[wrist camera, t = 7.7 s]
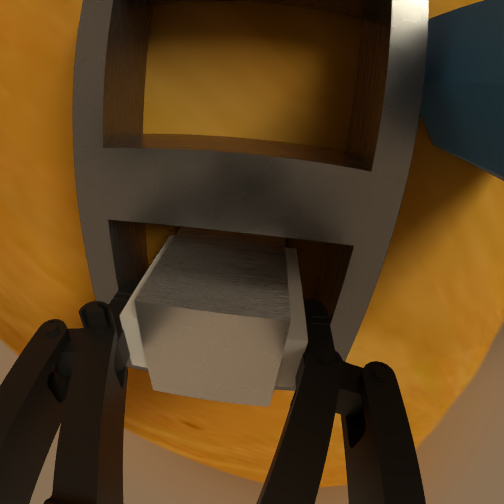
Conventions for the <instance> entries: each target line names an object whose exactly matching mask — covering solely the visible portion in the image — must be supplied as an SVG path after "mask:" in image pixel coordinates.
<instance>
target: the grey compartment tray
mask: <svg viewBox="0 0 504 504" xmlns="http://www.w3.org/2000/svg"><path fill="white" fill-rule="evenodd" d="M193 1H250V2H265V3H276V4H286V5H294V6H301V7H308V8H314V9H320V10H325V11H330V12H335V13H340V14H344V15H348V16H353V17H357V18H361V19H362V30H361V42H360V53H359V63H358V72H357V80H356V89H355V96H354V104H353V111H352V118H351V125H350V131H349V138H348V144H347V150H346V152H342V151H337V150H331V149H325V148H319V147H312V146H305V145H298V144H291V143H283V142H275V141H266V140H256V139H246V138H234V137H220V136H204V135H180V134H143V107H144V87H145V72H146V60H147V50H148V40H149V31H150V23H151V16H152V9H153V5H157V4H166V3H178V2H193ZM427 38H428V0H83V4H82V9H81V15H80V21H79V28H78V36H77V44H76V54H75V66H74V82H73V149H74V166H75V178H76V189H77V198H78V206H79V214H80V221H81V228H82V234H83V240H84V246H85V252H86V257H87V262H88V267H89V272H90V276H91V281H92V285H93V290H94V294H95V298H96V301H102V302H105V303H107V304H109V303H110V302H111V300H112V299H113V297H114V296H115V294H116V293H117V291H118V290H119V288H120V287H121V285H122V284H124V283H125V282H127V281H128V280H129V279H133V280H140V281H141V280H142V278H143V276H144V275H145V273H146V272H147V270H148V258H147V247H146V234H145V223H152V224H163V225H173V226H183V227H193V228H203V229H213V230H222V231H232V232H241V233H250V234H259V235H268V236H277V237H286V238H295V239H303V240H312V241H320V242H328V246H327V250H326V254H325V259H324V263H323V267H322V271H321V275H320V279H319V283H318V287H317V291H316V295H315V299H314V300H315V301H321V302H322V303H323V305H324V306H325V307H326V308H327V313H328V319H329V322H330V327H331V332H332V337H333V342H334V347H335V351H337V352H338V353H339V354H340V356H341V357H342V360H343V361H345V360H346V358H347V356H348V353H349V351H350V349H351V347H352V344H353V342H354V340H355V337H356V335H357V333H358V330H359V328H360V325H361V323H362V320H363V318H364V315H365V313H366V310H367V308H368V305H369V302H370V300H371V297H372V294H373V291H374V289H375V286H376V283H377V280H378V277H379V275H380V272H381V269H382V266H383V263H384V260H385V257H386V253H387V250H388V247H389V244H390V241H391V237H392V234H393V231H394V227H395V224H396V220H397V217H398V213H399V209H400V205H401V202H402V198H403V194H404V190H405V186H406V181H407V177H408V173H409V168H410V164H411V159H412V154H413V149H414V144H415V139H416V133H417V127H418V121H419V115H420V108H421V101H422V94H423V86H424V77H425V66H426V54H427ZM126 365H127V367H131V368H135V369H140V370H144V371H148V368H145V367H140V366H136V365H132V362H131V359H130V357H129V359H128V361H127V363H126ZM274 389H277V390H292V391H295V390H296V381H295V383H294V386H293V387H280V386H275V387H274Z"/></svg>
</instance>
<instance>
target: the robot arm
mask: <svg viewBox="0 0 504 504" xmlns="http://www.w3.org/2000/svg"><path fill="white" fill-rule="evenodd" d="M174 236H175V235H170V236H169V238H168V239H167V241H166V242H165V244H164V245H163V247H162V248H161V250H160V251H159V253H158V255H157V256H156V258H155V259H154V261H153V262H152V264H151V265H150V267H149V268H148V270H147V272H146V273H145V275H144V276H143V278H142V280H141V281H140V280H133V279H129V280H128V281H127V282H125V283H124V284H122V285H121V287H120V288H119V290H118V291H117V293H116V294H115V296H114V297H113V299H112V300H111V302H110V303H109V304H107V303H105V302H102V301H93V302H90V303H87V304H85V305H84V306H83V307H81V309H80V310H79V314H80V317H81V321H82V324H83V327H84V328H79V329H67V326H66V324H65V323H64V322H63V321H61V320H59V319H52V320H48V321H47V322H45V323H43V324H42V325H41V326H40V327H39V329H38V330H37V332H36V333H35V334H34V336H33V337H32V338H31V340H30V341H29V343H28V344H27V346H26V347H25V349H24V350H23V351H22V353H21V354H20V356H19V357H18V359H17V360H16V362H15V364H14V365H13V366H12V368H11V370H10V371H9V373H8V374H7V376H6V377H5V379H4V381H3V382H2V384H1V385H0V504H29V503H30V500H31V497H32V494H33V491H34V488H35V485H36V482H37V480H38V477H39V474H40V472H41V469H42V467H43V464H44V461H45V459H46V456H47V454H48V451H49V449H50V447H51V444H52V442H53V439H54V437H55V435H56V432H57V430H58V428H59V426H60V423H61V427H60V433H59V439H58V445H57V453H56V461H55V471H54V481H53V492H52V496H51V497H50V498H49V499H47V500H45V502H44V504H123V431H124V413H125V399H126V387H127V376H128V369H127V365H126V363H127V361H128V359H129V357H130V359H131V362H132V365H136V366H140V367H145V368H148V367H147V363H146V358H145V354H144V349H143V344H142V340H141V335H140V330H139V324H138V319H137V313H136V308H135V302H134V300H135V298H136V297H137V295H138V293H139V292H140V290H141V288H142V287H143V285H144V283H145V282H146V280H147V278H148V277H149V275H150V273H151V272H152V270H153V269H154V267H155V265H156V264H157V262H158V261H159V259H160V257H161V256H162V254H163V253H164V251H165V250H166V248H167V246H168V245H169V243H170V242H171V240H172V239H173V237H174ZM285 249H286V261H287V274H288V287H289V301H290V316H291V322H290V326H289V331H288V335H287V339H286V343H285V347H284V351H283V355H282V359H281V363H280V367H279V371H278V375H277V379H276V383H275V386H280V387H293V386H294V383H295V381H296V390H295V393H294V396H293V399H292V402H291V404H290V409H289V413H288V416H287V419H286V422H285V425H284V428H283V431H282V434H281V437H280V440H279V443H278V446H277V449H276V452H275V455H274V458H273V461H272V464H271V466H270V469H269V472H268V475H267V477H266V480H265V483H264V485H263V488H262V491H261V493H260V496H259V499H258V501H257V504H315V500H316V496H317V493H318V489H319V485H320V481H321V477H322V473H323V469H324V465H325V460H326V456H327V451H328V447H329V442H330V437H331V432H332V427H333V422H334V416H335V413H338V414H341V421H342V429H343V439H344V448H345V459H346V470H347V483H348V497H349V504H426V503H425V496H424V490H423V485H422V479H421V474H420V469H419V464H418V460H417V455H416V451H415V446H414V442H413V438H412V434H411V430H410V426H409V422H408V418H407V414H406V410H405V407H404V403H403V399H402V396H401V392H400V389H399V386H398V382H397V379H396V376H395V373H394V371H393V370H392V369H391V368H390V367H389V366H388V365H386V364H384V363H382V362H377V361H375V362H370V363H368V364H366V365H365V367H364V368H362V367H358V366H355V365H352V364H349V363H347V362H345V361H343V360H342V357H341V356H340V354H339V353H338V352H337V351H335V347H334V342H333V337H332V332H331V327H330V322H329V319H328V313H327V308H326V307H325V306H324V305H323V303H322V302H321V301H315V300H304V299H303V294H302V286H301V279H300V271H299V264H298V257H297V250H296V248H287V247H285Z"/></svg>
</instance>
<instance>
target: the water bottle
mask: <svg viewBox="0 0 504 504" xmlns="http://www.w3.org/2000/svg"><path fill="white" fill-rule="evenodd" d="M420 115H421V117H422V119H423V121H424V124H425V126H426V128H427V131H428V133H429V135H430V138H431V140H432V143H433V145H434V146H436V147H438V148H440V149H442V150H444V151H446V152H448V153H450V154H452V155H454V156H456V157H458V158H460V159H462V160H464V161H466V162H468V163H470V164H472V165H474V166H476V167H477V168H479V169H481V170H483V171H485V172H487V173H489V174H491V175H493V176H495V177H497V178H499V179H501V180H503V181H504V0H484V1H481V2H477V3H474V4H471V5H468V6H464V7H461V8H458V9H455V10H453V11H450V12H447V13H444V14H441V15H439V16H436V17H433V18H431V19H428V38H427V54H426V66H425V77H424V86H423V94H422V101H421V108H420Z"/></svg>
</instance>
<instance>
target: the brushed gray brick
mask: <svg viewBox="0 0 504 504" xmlns="http://www.w3.org/2000/svg"><path fill="white" fill-rule="evenodd" d="M134 302H135V308H136V313H137V319H138V324H139V330H140V335H141V340H142V344H143V349H144V354H145V358H146V363H147V367H148V371H149V375H150V380H151V384H152V387H153V390H156V391H161V392H166V393H171V394H176V395H181V396H187V397H193V398H199V399H206V400H213V401H220V402H228V403H236V404H245V405H256V406H268V407H269V406H270V402H271V398H272V394H273V391H274V387H275V383H276V379H277V375H278V371H279V367H280V363H281V359H282V355H283V351H284V347H285V343H286V339H287V335H288V331H289V326H290V322H291V316H290V301H289V287H288V274H287V261H286V249H285V237H277V236H268V235H259V234H250V233H241V232H232V231H222V230H213V229H203V228H193V227H183V226H181V227H180V228H179V230H178V231H177V233H176V234H175V236H174V237H173V239H172V240H171V242H170V243H169V245H168V246H167V248H166V250H165V251H164V253H163V254H162V256H161V257H160V259H159V261H158V262H157V264H156V265H155V267H154V269H153V270H152V272H151V273H150V275H149V277H148V278H147V280H146V282H145V283H144V285H143V287H142V288H141V290H140V292H139V293H138V295H137V297H136V298H135V300H134Z"/></svg>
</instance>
